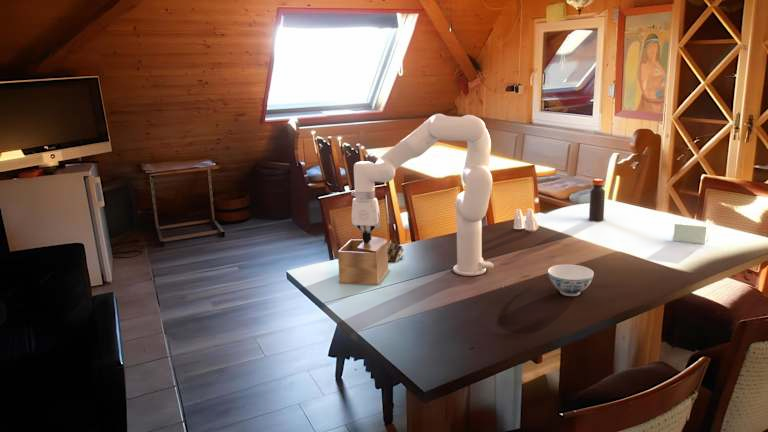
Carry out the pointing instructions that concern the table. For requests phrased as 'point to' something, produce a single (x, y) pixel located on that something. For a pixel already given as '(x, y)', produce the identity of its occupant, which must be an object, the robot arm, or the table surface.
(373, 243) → the flap
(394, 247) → the chocolate cake
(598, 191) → the bottle
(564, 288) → the chinaware
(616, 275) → the table surface
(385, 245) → the carton
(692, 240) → the l-shaped corner panel
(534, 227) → the shaker set
